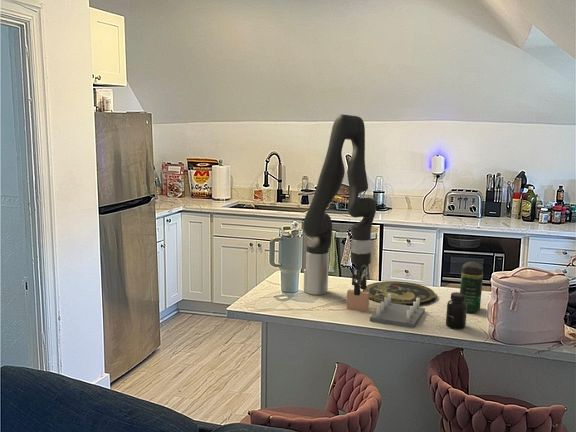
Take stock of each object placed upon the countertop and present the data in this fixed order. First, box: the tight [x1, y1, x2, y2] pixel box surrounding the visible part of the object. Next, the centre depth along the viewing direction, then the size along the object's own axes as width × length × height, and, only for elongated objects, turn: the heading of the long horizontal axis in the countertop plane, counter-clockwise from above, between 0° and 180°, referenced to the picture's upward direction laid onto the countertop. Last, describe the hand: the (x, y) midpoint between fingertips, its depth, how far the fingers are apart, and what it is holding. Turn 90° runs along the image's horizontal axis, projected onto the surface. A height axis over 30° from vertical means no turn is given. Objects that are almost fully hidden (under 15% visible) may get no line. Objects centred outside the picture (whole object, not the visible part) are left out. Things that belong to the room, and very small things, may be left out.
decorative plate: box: [362, 280, 437, 307], centre depth 248 cm, size 30×2×30 cm
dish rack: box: [369, 294, 426, 329], centre depth 222 cm, size 16×19×6 cm
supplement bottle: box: [445, 291, 467, 330], centre depth 212 cm, size 7×7×12 cm
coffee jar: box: [459, 261, 484, 314], centre depth 229 cm, size 10×8×19 cm
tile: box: [346, 289, 370, 312], centre depth 229 cm, size 8×2×7 cm, turn 66°
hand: (360, 292), depth 228 cm, fingers open, 8 cm apart
